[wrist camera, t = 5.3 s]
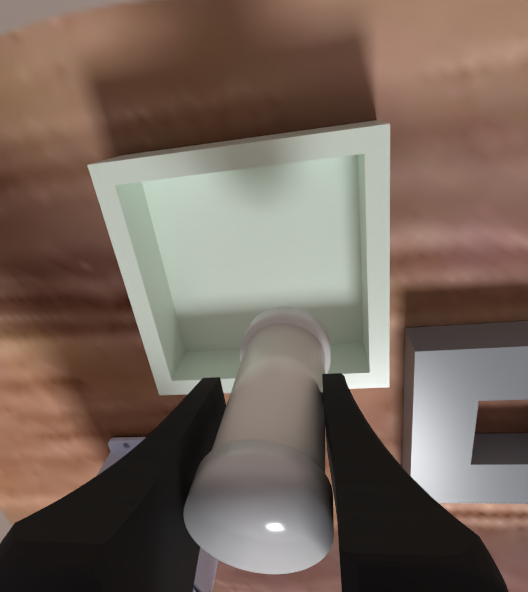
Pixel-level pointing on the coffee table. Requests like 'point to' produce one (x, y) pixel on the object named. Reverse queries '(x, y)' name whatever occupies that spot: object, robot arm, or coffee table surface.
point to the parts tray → (254, 246)
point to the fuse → (269, 453)
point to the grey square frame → (464, 411)
